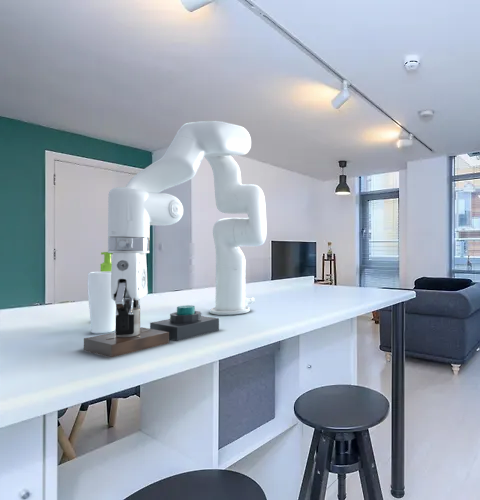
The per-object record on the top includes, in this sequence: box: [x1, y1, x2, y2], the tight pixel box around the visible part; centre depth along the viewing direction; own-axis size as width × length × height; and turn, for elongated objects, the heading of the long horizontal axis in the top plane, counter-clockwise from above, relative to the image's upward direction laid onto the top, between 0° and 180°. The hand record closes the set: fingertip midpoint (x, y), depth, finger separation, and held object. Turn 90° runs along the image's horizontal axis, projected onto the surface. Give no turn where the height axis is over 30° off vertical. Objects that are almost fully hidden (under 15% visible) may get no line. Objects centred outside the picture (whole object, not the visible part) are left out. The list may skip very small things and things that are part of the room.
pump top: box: [176, 304, 196, 315], centre depth 87 cm, size 4×4×2 cm
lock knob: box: [116, 307, 141, 337], centre depth 74 cm, size 4×4×6 cm
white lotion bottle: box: [86, 271, 116, 335], centre depth 88 cm, size 7×7×15 cm
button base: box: [149, 310, 220, 342], centre depth 87 cm, size 12×10×5 cm
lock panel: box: [83, 326, 170, 358], centre depth 74 cm, size 12×10×3 cm
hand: (128, 330), depth 74 cm, fingers closed on lock knob, 4 cm apart
